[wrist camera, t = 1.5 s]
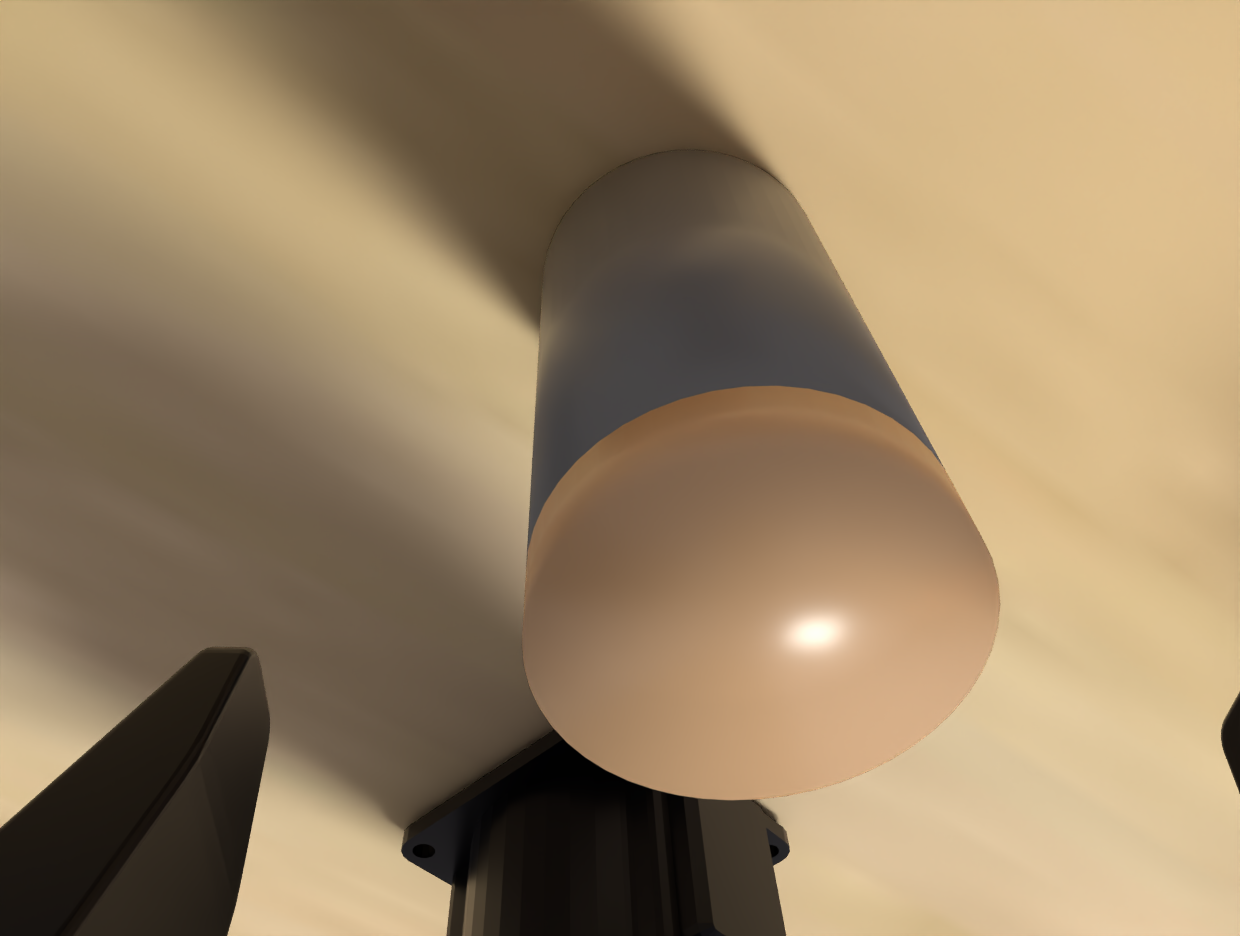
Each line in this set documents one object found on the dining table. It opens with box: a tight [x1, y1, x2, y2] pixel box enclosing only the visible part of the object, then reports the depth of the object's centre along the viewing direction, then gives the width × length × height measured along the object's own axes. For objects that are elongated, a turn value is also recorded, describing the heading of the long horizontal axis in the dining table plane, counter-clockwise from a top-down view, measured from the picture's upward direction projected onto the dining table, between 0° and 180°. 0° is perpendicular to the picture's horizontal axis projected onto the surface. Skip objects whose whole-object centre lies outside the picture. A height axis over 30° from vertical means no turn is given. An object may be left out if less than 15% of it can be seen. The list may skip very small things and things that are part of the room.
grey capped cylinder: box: [522, 150, 1000, 800], centre depth 13 cm, size 4×4×8 cm
